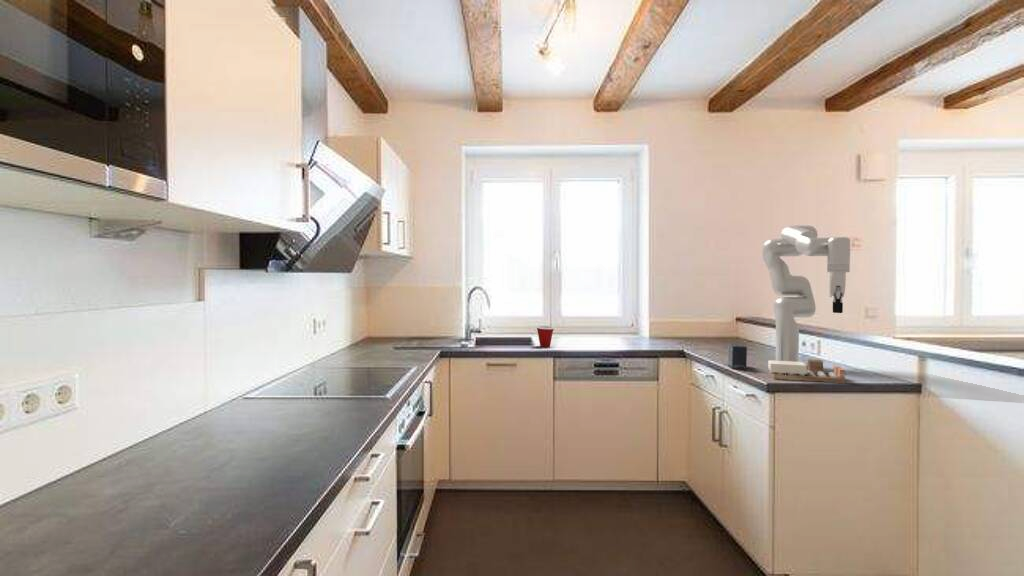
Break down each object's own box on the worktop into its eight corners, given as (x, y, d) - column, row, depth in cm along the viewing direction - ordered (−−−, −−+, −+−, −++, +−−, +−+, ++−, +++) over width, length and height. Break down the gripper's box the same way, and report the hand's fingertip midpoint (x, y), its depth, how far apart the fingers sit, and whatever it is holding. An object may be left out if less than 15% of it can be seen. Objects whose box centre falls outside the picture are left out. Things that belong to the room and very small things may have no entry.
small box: (747, 369, 230) (747, 346, 229) (732, 369, 231) (732, 345, 231) (741, 365, 240) (742, 343, 240) (727, 364, 241) (727, 342, 241)
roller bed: (770, 373, 221) (770, 361, 221) (837, 377, 212) (837, 365, 212) (773, 379, 209) (773, 366, 209) (845, 383, 201) (845, 370, 200)
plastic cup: (544, 348, 296) (544, 327, 295) (532, 346, 304) (532, 326, 304) (558, 346, 303) (558, 326, 302) (545, 344, 311) (545, 324, 311)
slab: (768, 368, 219) (768, 360, 219) (802, 370, 215) (802, 362, 215) (770, 372, 212) (770, 363, 211) (806, 374, 207) (806, 365, 207)
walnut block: (807, 372, 222) (807, 359, 221) (820, 373, 220) (820, 359, 220) (809, 375, 217) (809, 361, 217) (823, 375, 215) (823, 361, 215)
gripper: (827, 268, 212) (826, 309, 213) (827, 268, 197) (826, 313, 198) (848, 268, 208) (848, 310, 209) (850, 268, 194) (849, 314, 194)
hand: (837, 311), depth 204 cm, fingers open, 9 cm apart
